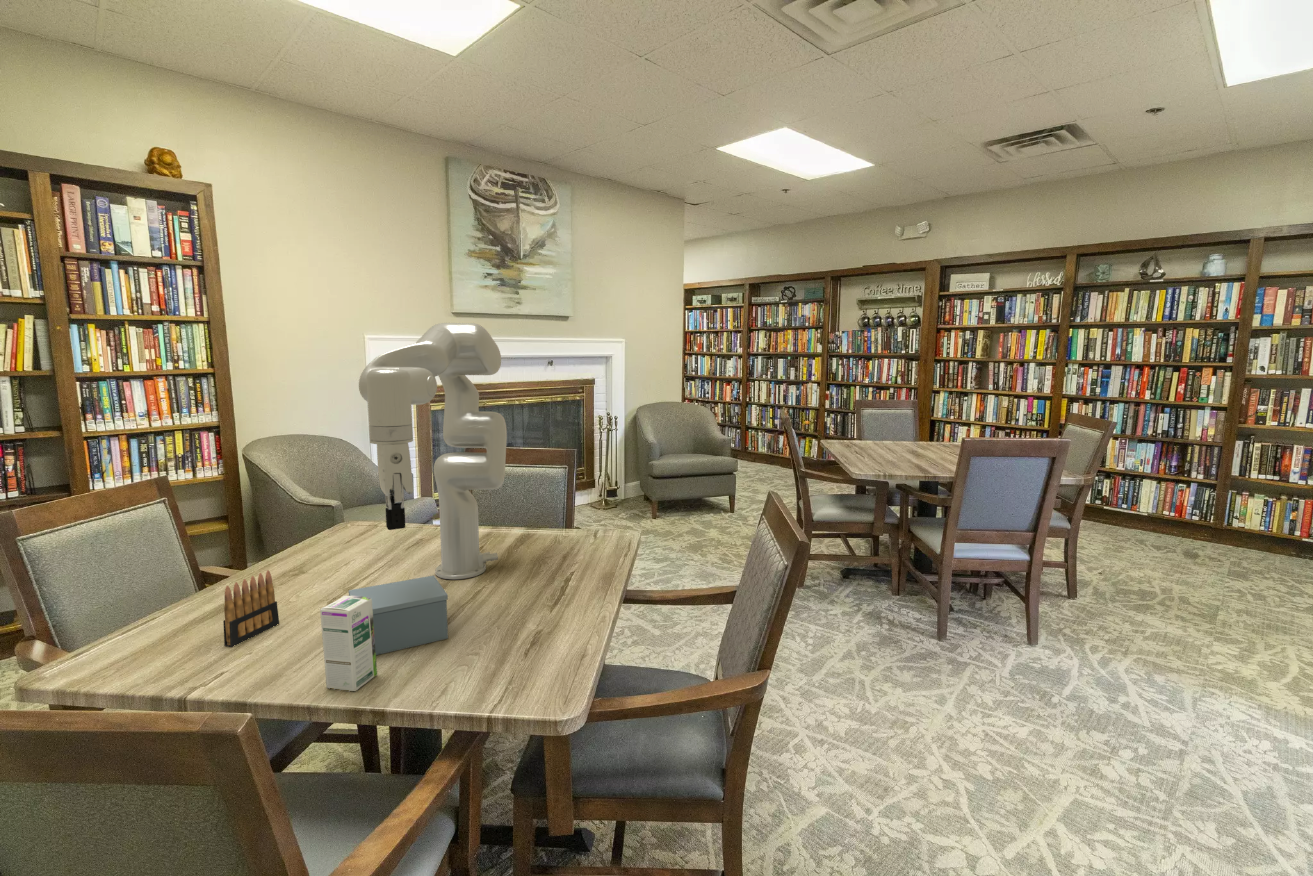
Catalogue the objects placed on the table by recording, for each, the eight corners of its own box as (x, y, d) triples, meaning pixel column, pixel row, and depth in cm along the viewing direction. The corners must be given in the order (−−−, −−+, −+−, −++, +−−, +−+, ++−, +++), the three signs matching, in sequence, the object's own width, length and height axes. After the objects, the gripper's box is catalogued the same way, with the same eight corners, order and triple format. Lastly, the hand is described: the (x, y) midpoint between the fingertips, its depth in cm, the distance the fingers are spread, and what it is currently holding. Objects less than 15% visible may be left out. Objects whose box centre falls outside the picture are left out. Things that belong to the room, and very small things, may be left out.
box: (434, 616, 129) (433, 581, 128) (447, 638, 119) (446, 600, 118) (352, 633, 120) (350, 596, 119) (359, 659, 110) (356, 618, 109)
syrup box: (355, 693, 99) (350, 610, 97) (324, 688, 100) (319, 607, 98) (377, 675, 105) (373, 597, 103) (348, 671, 106) (343, 594, 104)
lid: (433, 579, 128) (433, 575, 128) (447, 599, 118) (447, 594, 118) (348, 595, 119) (348, 590, 119) (355, 618, 109) (355, 612, 109)
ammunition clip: (272, 622, 125) (268, 568, 123) (279, 624, 125) (275, 569, 123) (224, 646, 115) (218, 586, 113) (231, 647, 114) (226, 587, 113)
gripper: (419, 437, 108) (423, 535, 110) (406, 429, 121) (410, 516, 123) (374, 440, 104) (379, 541, 107) (365, 431, 117) (370, 521, 119)
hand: (396, 527), depth 115 cm, fingers closed
